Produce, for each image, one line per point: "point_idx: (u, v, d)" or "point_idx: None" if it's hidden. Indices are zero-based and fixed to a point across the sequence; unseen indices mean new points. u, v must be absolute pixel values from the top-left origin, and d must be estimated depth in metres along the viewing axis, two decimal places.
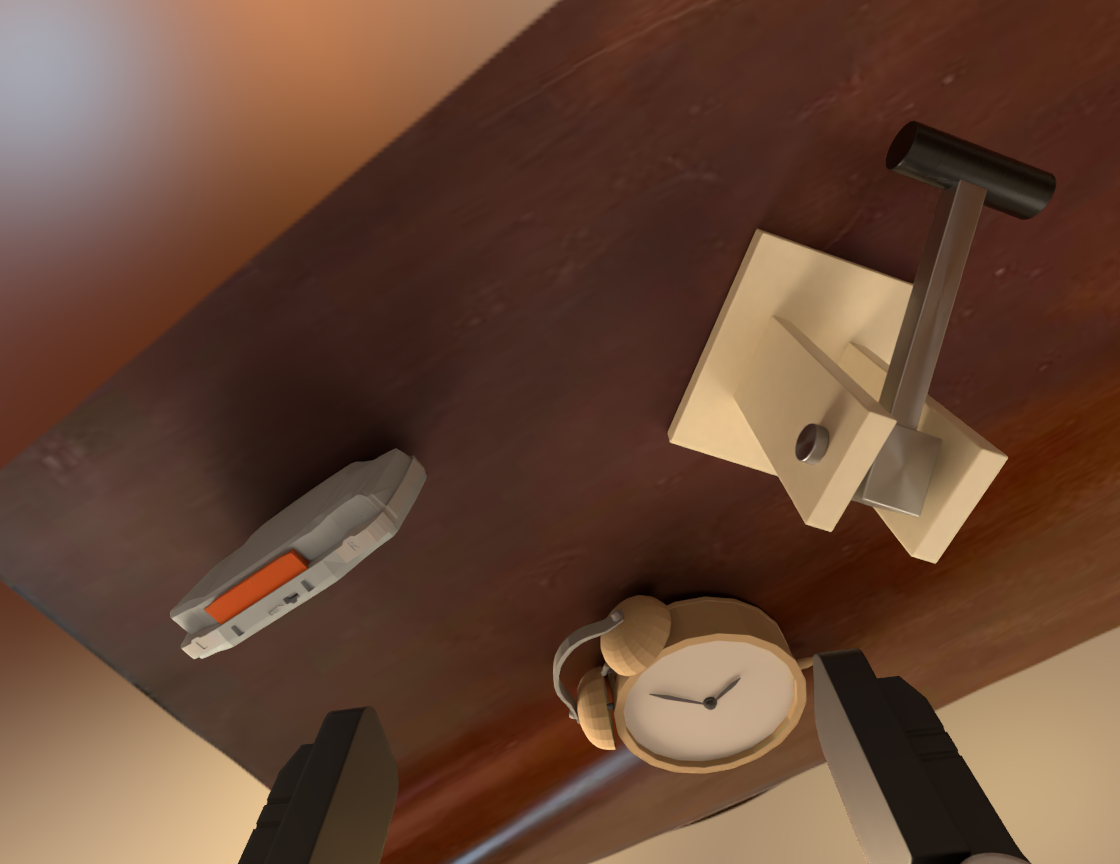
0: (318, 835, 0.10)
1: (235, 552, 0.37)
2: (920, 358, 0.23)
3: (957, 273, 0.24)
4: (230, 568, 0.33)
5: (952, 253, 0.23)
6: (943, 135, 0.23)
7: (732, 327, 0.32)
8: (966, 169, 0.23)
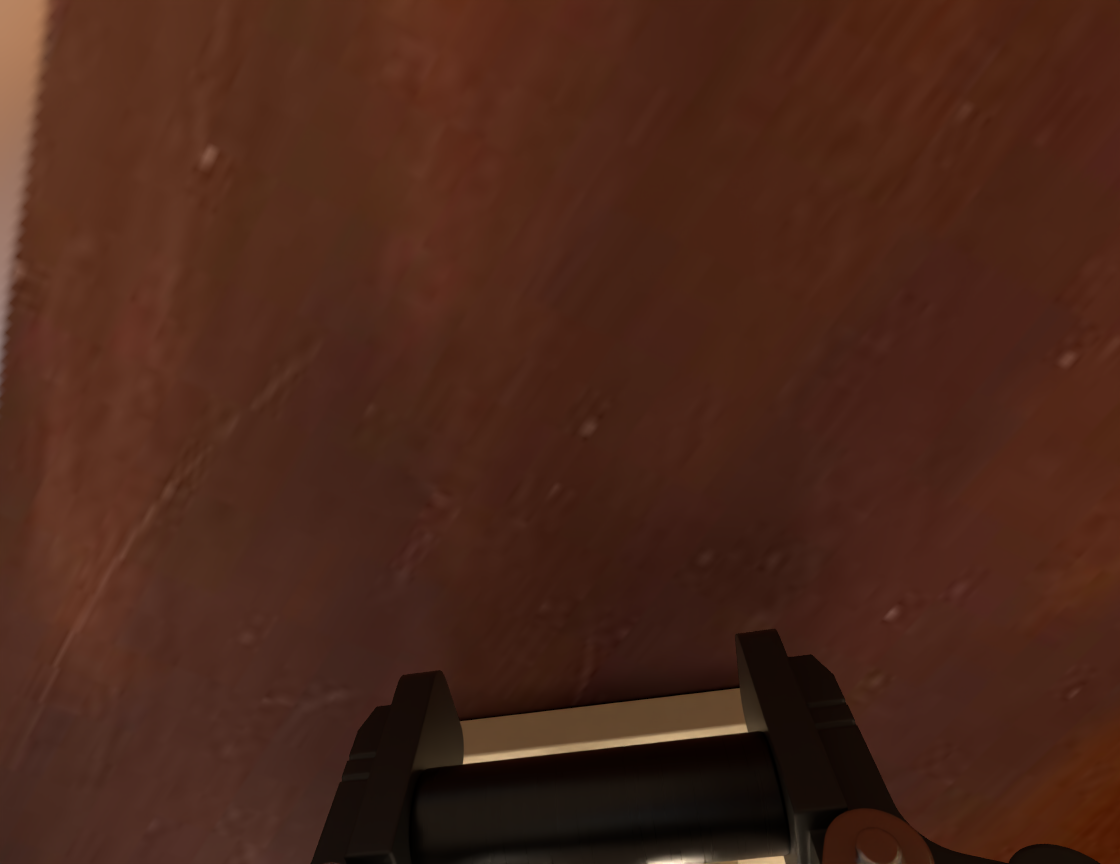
0: (407, 785, 0.10)
1: None
2: None
3: None
4: None
5: None
6: (475, 821, 0.10)
7: None
8: None
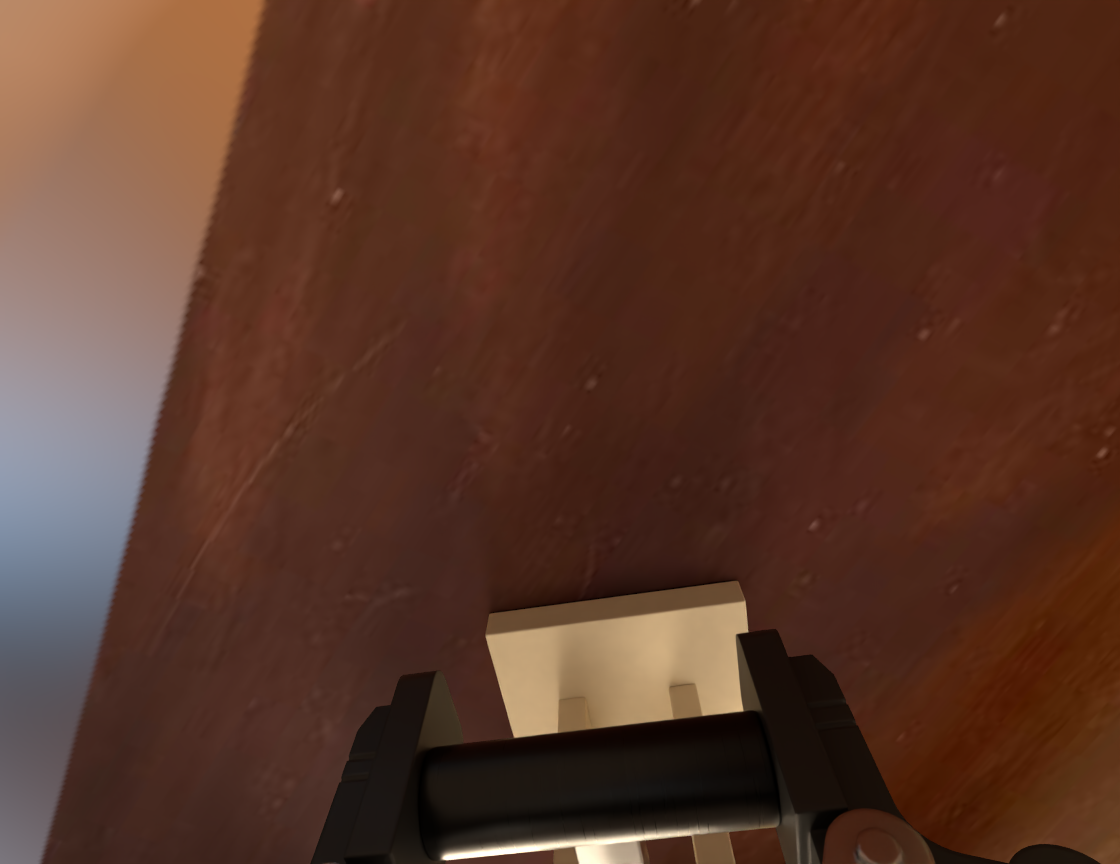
0: (406, 785, 0.10)
1: None
2: None
3: None
4: None
5: None
6: (483, 825, 0.10)
7: (524, 726, 0.25)
8: (567, 847, 0.11)
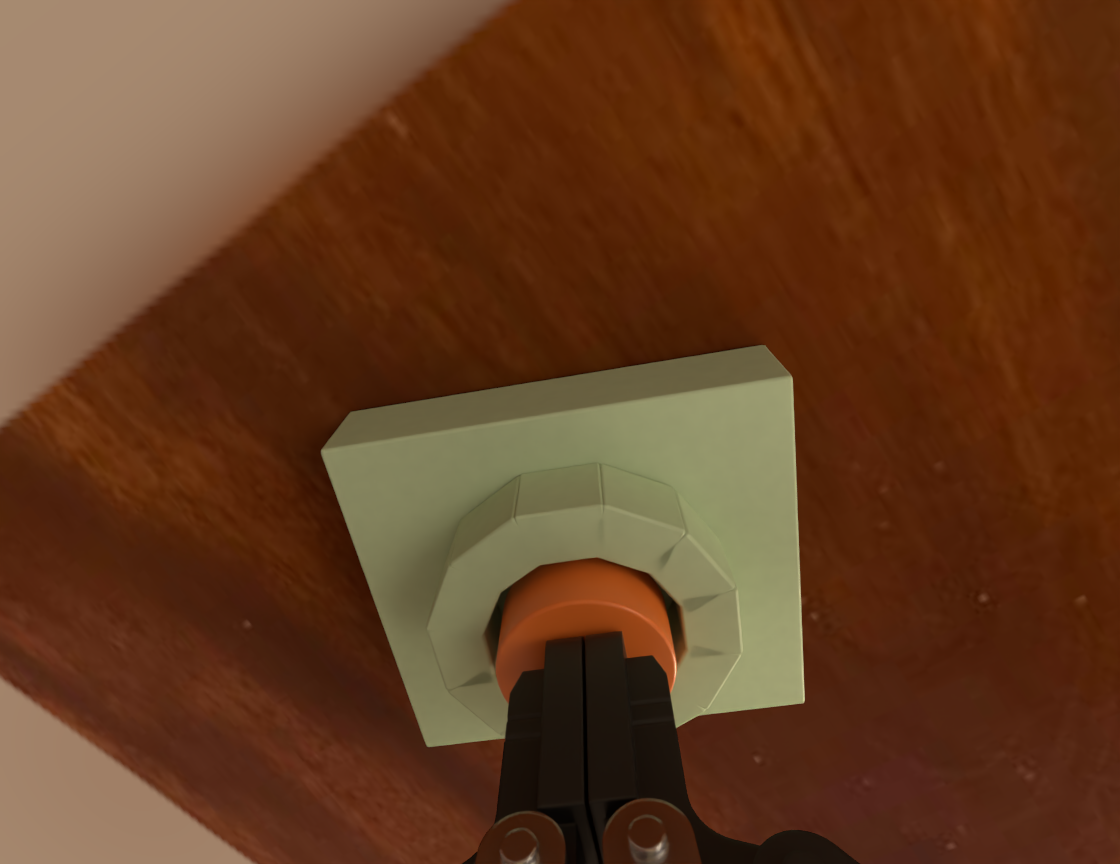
0: (581, 741, 0.11)
1: None
2: None
3: None
4: None
5: None
6: None
7: None
8: None
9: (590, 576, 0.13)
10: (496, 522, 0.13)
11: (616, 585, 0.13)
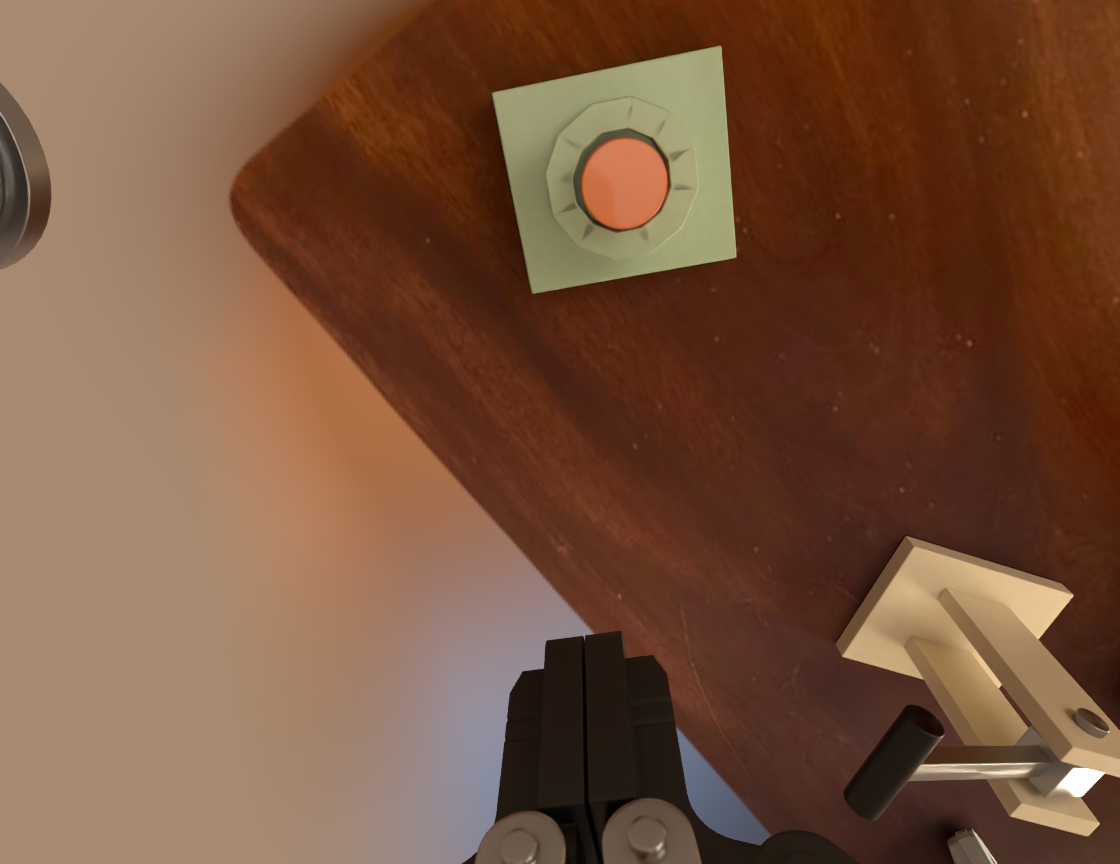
0: (581, 742, 0.11)
1: None
2: (1009, 772, 0.32)
3: (966, 767, 0.30)
4: None
5: (952, 773, 0.30)
6: (875, 804, 0.29)
7: (907, 668, 0.44)
8: (903, 786, 0.29)
9: None
10: (581, 112, 0.28)
11: None
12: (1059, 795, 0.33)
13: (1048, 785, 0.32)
